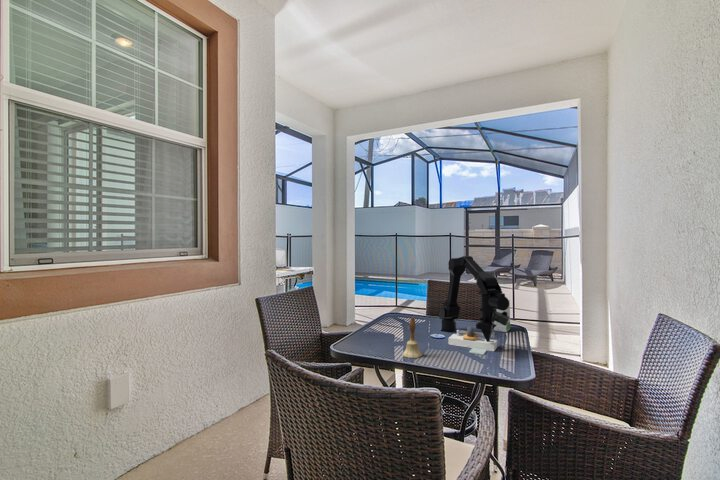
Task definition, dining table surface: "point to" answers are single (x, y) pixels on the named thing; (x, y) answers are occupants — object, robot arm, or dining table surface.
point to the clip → (475, 333)
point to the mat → (477, 351)
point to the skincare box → (499, 326)
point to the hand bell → (412, 343)
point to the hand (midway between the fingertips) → (488, 341)
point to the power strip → (472, 342)
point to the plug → (470, 334)
